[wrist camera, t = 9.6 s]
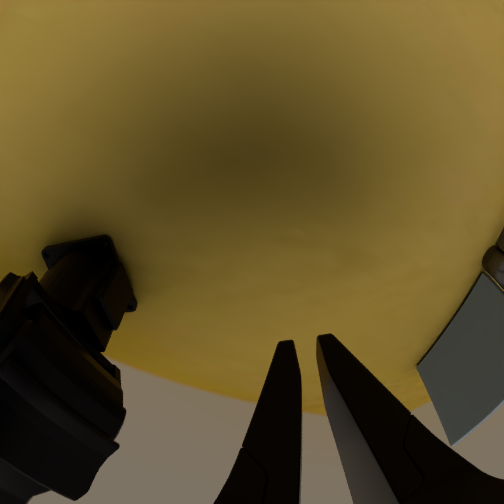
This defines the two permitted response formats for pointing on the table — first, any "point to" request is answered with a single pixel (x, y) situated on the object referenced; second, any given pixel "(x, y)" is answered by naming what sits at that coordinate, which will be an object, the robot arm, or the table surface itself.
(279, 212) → the table surface
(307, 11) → the table surface
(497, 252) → the hinge fixed leaf
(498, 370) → the hinge swing leaf
